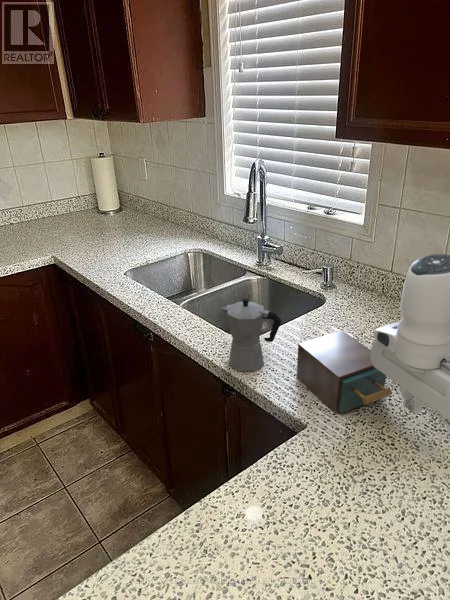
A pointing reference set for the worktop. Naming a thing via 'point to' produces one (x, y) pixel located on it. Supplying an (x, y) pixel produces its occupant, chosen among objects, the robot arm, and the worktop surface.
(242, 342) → the coffeepot
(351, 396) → the drawer
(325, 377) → the cabinet
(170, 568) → the worktop surface
